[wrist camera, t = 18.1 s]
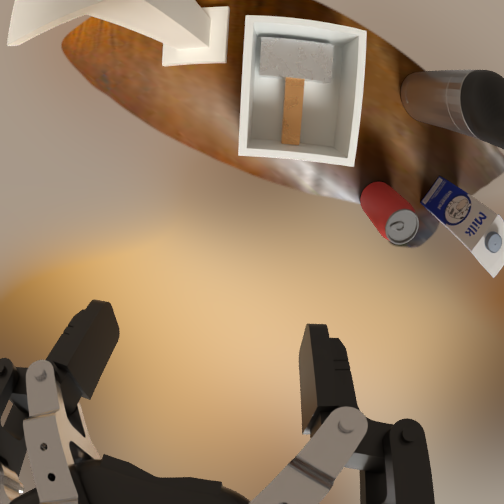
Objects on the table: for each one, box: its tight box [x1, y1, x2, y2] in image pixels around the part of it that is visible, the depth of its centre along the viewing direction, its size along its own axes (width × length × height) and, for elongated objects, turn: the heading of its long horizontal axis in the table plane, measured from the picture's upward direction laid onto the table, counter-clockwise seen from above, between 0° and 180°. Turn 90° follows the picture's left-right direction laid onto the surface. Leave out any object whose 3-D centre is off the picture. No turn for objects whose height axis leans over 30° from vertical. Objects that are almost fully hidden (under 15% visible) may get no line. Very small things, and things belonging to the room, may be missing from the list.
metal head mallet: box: [259, 37, 334, 145], centre depth 36 cm, size 10×16×4 cm, turn 177°
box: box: [238, 15, 367, 167], centre depth 34 cm, size 15×19×10 cm
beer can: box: [360, 182, 419, 244], centre depth 41 cm, size 7×7×12 cm
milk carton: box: [420, 176, 504, 278], centre depth 36 cm, size 7×7×20 cm
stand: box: [7, 0, 230, 66], centre depth 20 cm, size 12×10×32 cm
